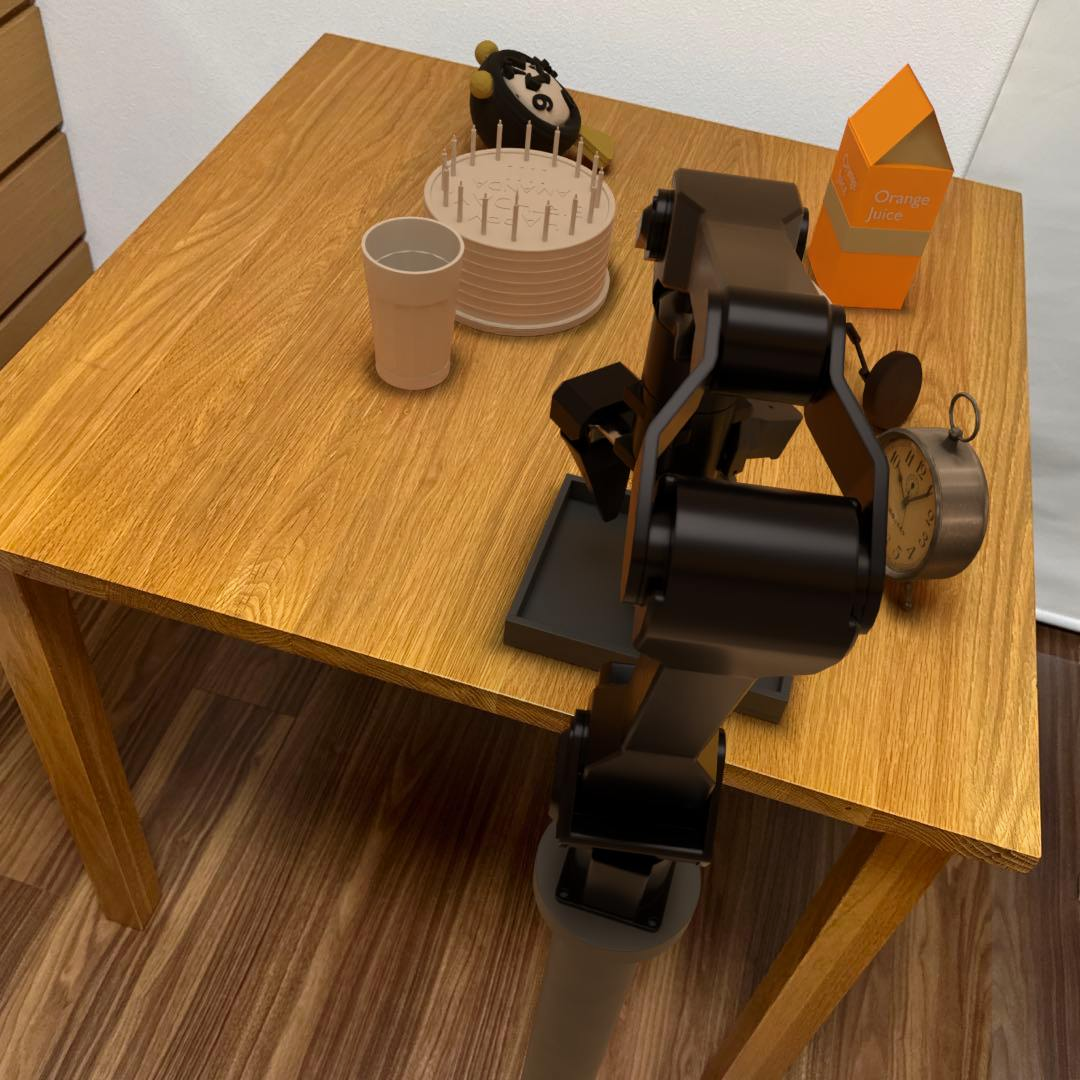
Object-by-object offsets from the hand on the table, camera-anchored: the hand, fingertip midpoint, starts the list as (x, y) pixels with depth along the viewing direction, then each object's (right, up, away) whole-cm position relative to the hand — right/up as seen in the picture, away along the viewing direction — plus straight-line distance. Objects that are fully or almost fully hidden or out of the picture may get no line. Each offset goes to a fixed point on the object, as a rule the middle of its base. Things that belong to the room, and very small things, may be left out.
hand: (648, 562), depth 76 cm
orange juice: (+23, +27, +35) cm, 50 cm away
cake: (-10, +26, +31) cm, 42 cm away
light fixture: (+14, +15, +23) cm, 31 cm away
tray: (+1, -3, +5) cm, 6 cm away
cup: (-18, +16, +21) cm, 32 cm away
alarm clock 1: (-8, +43, +46) cm, 63 cm away
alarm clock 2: (+20, 0, +10) cm, 22 cm away
